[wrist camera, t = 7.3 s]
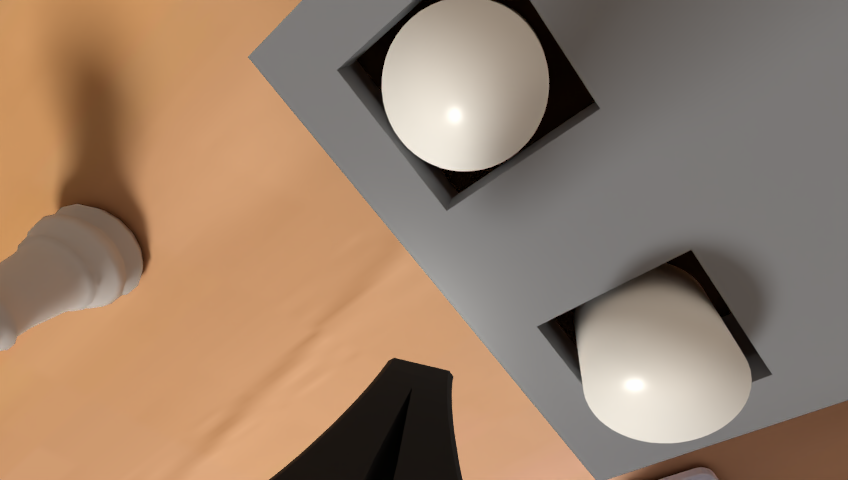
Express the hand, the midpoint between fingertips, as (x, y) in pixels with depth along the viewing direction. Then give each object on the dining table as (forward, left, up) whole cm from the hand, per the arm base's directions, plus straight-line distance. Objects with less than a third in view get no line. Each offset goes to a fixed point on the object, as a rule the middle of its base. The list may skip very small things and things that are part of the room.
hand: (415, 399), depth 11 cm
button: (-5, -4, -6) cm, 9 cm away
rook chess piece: (+8, +13, -9) cm, 18 cm away
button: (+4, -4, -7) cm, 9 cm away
